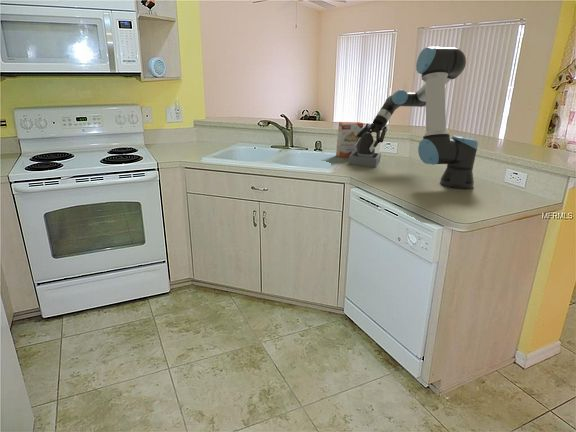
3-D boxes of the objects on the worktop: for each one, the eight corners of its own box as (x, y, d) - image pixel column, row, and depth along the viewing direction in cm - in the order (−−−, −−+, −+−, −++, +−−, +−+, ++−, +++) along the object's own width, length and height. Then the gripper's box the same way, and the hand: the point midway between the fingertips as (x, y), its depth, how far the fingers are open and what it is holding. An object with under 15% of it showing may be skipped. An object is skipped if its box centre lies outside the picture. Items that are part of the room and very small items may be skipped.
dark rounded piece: (372, 157, 232) (375, 131, 227) (374, 161, 223) (377, 134, 217) (355, 156, 233) (358, 130, 228) (356, 160, 224) (359, 133, 218)
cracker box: (339, 157, 240) (342, 123, 232) (335, 155, 245) (338, 121, 238) (360, 157, 244) (363, 122, 236) (356, 154, 249) (359, 121, 241)
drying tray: (375, 167, 220) (376, 158, 218) (348, 164, 225) (349, 155, 223) (380, 161, 233) (381, 153, 231) (354, 158, 238) (355, 150, 236)
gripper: (400, 125, 224) (381, 156, 219) (368, 121, 238) (349, 149, 234) (396, 116, 218) (377, 148, 214) (364, 112, 233) (345, 141, 229)
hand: (362, 149), depth 224 cm, fingers closed on dark rounded piece, 10 cm apart
